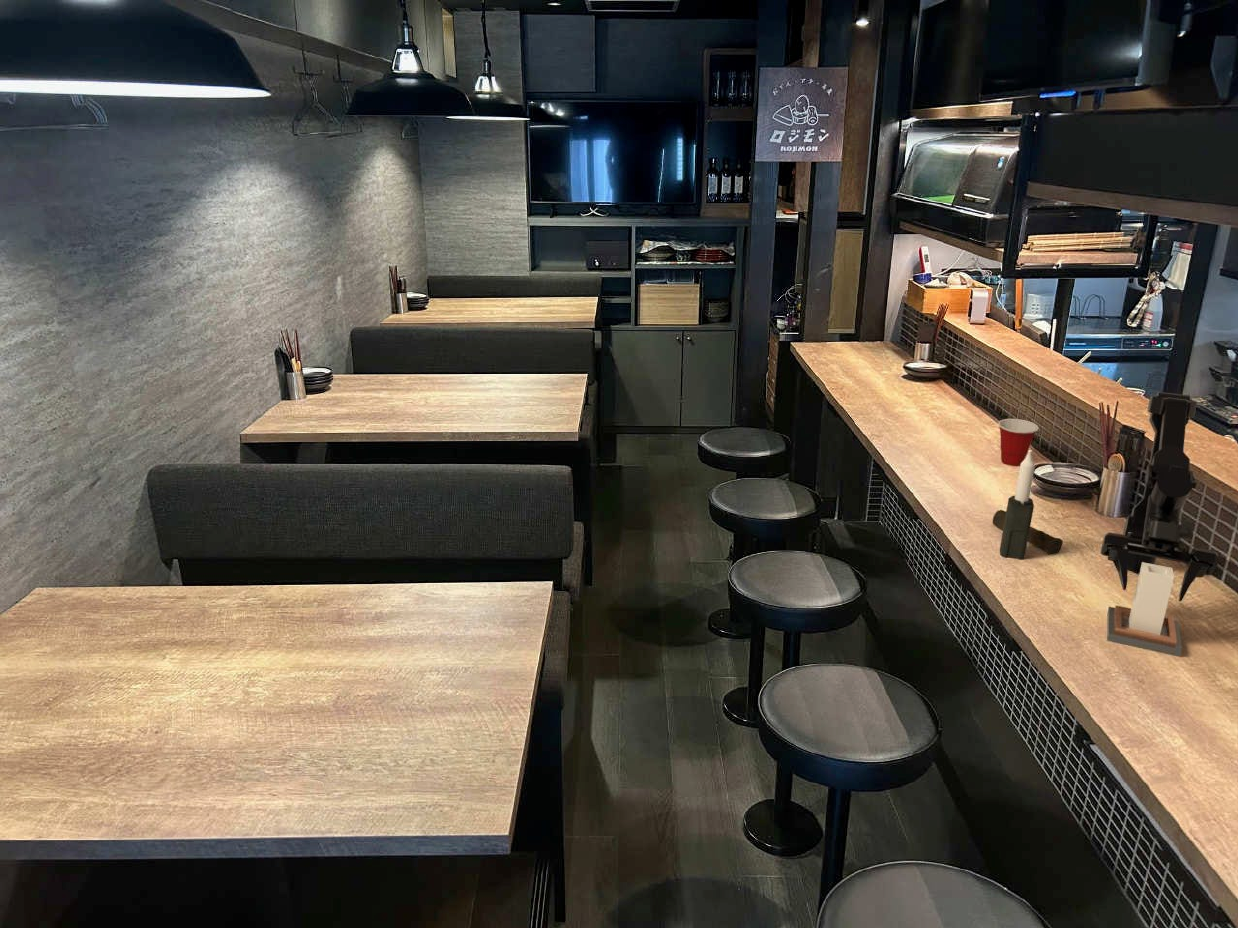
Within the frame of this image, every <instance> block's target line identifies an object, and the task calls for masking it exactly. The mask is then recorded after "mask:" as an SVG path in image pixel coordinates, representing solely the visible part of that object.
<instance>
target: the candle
mask: <svg viewBox="0 0 1238 928" xmlns="http://www.w3.org/2000/svg"><path fill="white" fill-rule="evenodd" d="M1035 468H1036V465H1035V462H1034V461H1033V450H1032V449H1028V452H1027V454H1026V456H1025V459H1024V461H1023V462H1022V463H1021V465H1020V466H1019V471H1018V476H1017V477H1018V478H1017V482H1016V489H1015V495H1011V496H1010V497H1009V498H1008V499H1007V500H1008V501H1007V505H1006V510H1005V511H1006V516H1005V522H1004V528H1003V531H1002V532H1001V533H1002V534H1001V540H1000V546H999V555H1000V556H1001V557H1003V558H1009V559H1017V560H1021V561H1022V560H1024V559H1025V556H1026V552H1027V546H1028V542H1029V541H1028V536H1029V530H1030V527H1031V523H1032V518H1033V514H1034V507H1035V504H1034V500H1033V499H1032V498H1030V496H1031V495H1030V494H1031V491H1032V485H1033V479H1034V473H1035Z"/></svg>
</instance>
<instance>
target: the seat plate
mask: <svg viewBox="0 0 1238 928" xmlns="http://www.w3.org/2000/svg"><path fill="white" fill-rule="evenodd" d="M1131 608H1132V607H1131ZM1131 608H1130V607H1124V606H1121V605H1115V607H1113V606H1108V608H1107V612H1106V613H1107V615H1106V617H1107V618H1106V623H1107V624H1106V629H1107V630H1106V641H1107V642H1108V641H1109V642H1113V643H1116V644H1117V643H1118V644H1122V645H1126V646H1131V647H1135V648H1139V649H1144V650H1148V651H1153V652H1157V653H1162V654H1166V655H1170V654H1171V656H1176V657H1178V658H1179V657H1180V658H1181V654H1182V652H1183V645H1182V639H1181V632H1180V624H1179V620H1176V619H1175V616H1174V617H1173V616H1169V615H1165V616H1164V621H1163V625H1162V629H1161V633H1160V635H1158V634H1154V633H1149V632H1144V631H1140V630H1135V629H1131V628H1129V617H1130V612H1131Z"/></svg>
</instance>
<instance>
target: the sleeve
mask: <svg viewBox="0 0 1238 928" xmlns="http://www.w3.org/2000/svg"><path fill="white" fill-rule="evenodd" d="M1174 576H1175V575H1174V571H1173V567H1170V566H1164V565H1159V564H1155V565H1154V564H1149V563H1144V562H1142V565H1141V569H1140V573H1139V574H1138V579H1137V582H1136V587H1135V591H1134V596H1133V600H1132V604H1131V612H1130V617H1129V628H1131V629H1135V630H1140V631H1144V632H1149V633H1154V634H1158V635H1160V633H1161V629H1162V625H1163V621H1164V616H1166V612H1167V608H1168V604H1169V600H1170V597H1171V591H1172V588H1173V583H1174V580H1175V577H1174Z"/></svg>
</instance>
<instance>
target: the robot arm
mask: <svg viewBox="0 0 1238 928" xmlns="http://www.w3.org/2000/svg"><path fill="white" fill-rule="evenodd" d="M1197 404H1198V401H1196V400H1192V399H1191V395H1188V394H1181V393H1173V392H1164V391H1157V394H1156V395H1150V398H1149V402H1148V405H1147V406H1148V407H1147V413H1149V414H1150V415H1149V419H1148V422H1149V423H1150V425H1151V427H1152V429H1153V431H1154V437H1153V442H1152V446H1151V453H1150V458H1149V463H1148V464H1147V467H1146V471H1145V476H1144V483H1145V484H1144V490H1143V496H1142V499H1141V500H1140V501H1139V502H1138V503H1137V504H1136V505H1135V506H1134V507H1133V508H1132V510H1131V514H1130V515H1127V518H1126V521H1125V523H1124V526H1123V531H1122V534H1120V533H1115V532H1107V533H1106V534H1105V535H1104V538H1103V541H1102V543H1101V550H1100V555H1102V556H1105V557H1107V560H1108V561H1111V562H1113V564H1114V567H1115V569H1116V571H1117V574H1118V576H1119V581H1120V584H1121V588H1122V590H1124V591H1126V590H1127V585H1128V573H1129V571H1131V572H1133V573H1135V574H1138V575H1139V573H1140V569H1141V565H1142V562H1144V563H1149V564H1154V565H1156V564H1155V563H1156V560H1157V559H1162V560H1166V561H1172V562H1177V563H1183V564H1187V568H1186V569H1185V571H1184V574H1183V578H1182V582H1181V587H1180V590H1179V594H1178V602H1182V601H1183V599H1184V597H1185V595H1186V593H1187V592H1188V590H1189V588H1190V587H1191V585H1192V583H1193V582H1194V581H1195V579H1196V578H1204V576H1211V575H1212V574H1213V573H1214V571H1215V570H1216V569H1217V566H1218V563H1219V554H1218V553H1217V552H1216V551H1214V550H1211V549H1204V548H1199V547H1194V548H1193V549H1192V551H1191V553H1190V552H1184V551H1180V550H1179V551H1178V550H1177V549H1179V547H1180V543H1181V539H1183V540H1188V541H1190V540H1192V539H1193V536H1194V531H1195V530H1194V528H1195V523H1194V522H1191V521H1185V520H1184V521H1183V520H1182V521H1181V516H1182V515H1181V513H1182V508H1183V507H1184V505H1185V503H1186V501H1187V499H1188V498H1189V495H1190V494H1191V492H1192V490H1193V489H1196V488H1197V487H1196V485H1197V480H1196V477H1195V476H1194V473H1193V470H1190V467H1191V465H1190V464H1191V459H1190V457H1188V456H1187V454H1186V452H1185V451H1184V450H1185V449H1184V447H1185V438H1186V426H1187V424H1188V423H1189V421H1190V419H1194V417H1195V413H1196V409H1197ZM1180 521H1181V523H1180ZM1128 570H1129V571H1128Z"/></svg>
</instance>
